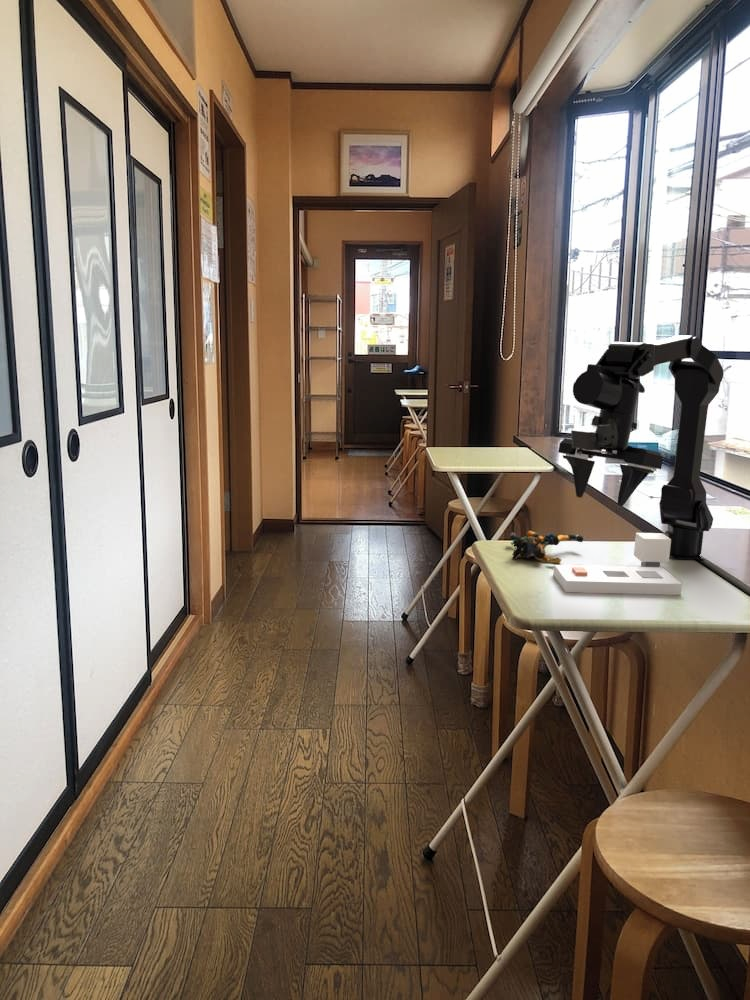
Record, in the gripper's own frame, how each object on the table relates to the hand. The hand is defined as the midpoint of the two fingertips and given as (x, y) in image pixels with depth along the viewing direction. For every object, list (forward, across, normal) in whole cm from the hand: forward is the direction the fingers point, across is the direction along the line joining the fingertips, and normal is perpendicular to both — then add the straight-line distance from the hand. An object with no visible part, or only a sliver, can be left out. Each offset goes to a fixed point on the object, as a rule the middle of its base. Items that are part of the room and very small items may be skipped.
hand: (599, 501), depth 143 cm
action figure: (+14, -18, +9) cm, 24 cm away
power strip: (+14, +2, +6) cm, 16 cm away
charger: (+11, -1, +20) cm, 23 cm away
